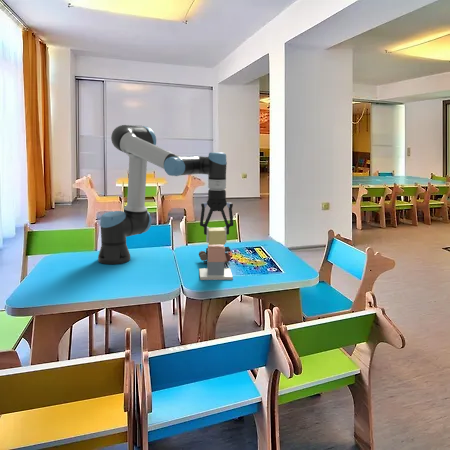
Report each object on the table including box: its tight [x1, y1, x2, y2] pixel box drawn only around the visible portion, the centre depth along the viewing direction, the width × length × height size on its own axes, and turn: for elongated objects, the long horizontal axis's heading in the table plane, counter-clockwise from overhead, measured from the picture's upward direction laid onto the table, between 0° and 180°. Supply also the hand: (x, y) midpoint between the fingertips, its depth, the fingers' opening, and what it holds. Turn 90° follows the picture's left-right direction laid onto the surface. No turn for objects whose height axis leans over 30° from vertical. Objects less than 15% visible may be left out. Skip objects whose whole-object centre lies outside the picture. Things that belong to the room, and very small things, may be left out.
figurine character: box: [198, 246, 232, 265], centre depth 198 cm, size 7×8×15 cm
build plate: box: [198, 267, 234, 281], centre depth 179 cm, size 14×12×1 cm
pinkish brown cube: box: [207, 243, 226, 262], centre depth 177 cm, size 7×7×6 cm
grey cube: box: [206, 257, 225, 275], centre depth 179 cm, size 7×7×6 cm
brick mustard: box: [208, 226, 226, 246], centre depth 176 cm, size 7×7×6 cm
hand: (216, 241), depth 176 cm, fingers closed on brick mustard, 7 cm apart
